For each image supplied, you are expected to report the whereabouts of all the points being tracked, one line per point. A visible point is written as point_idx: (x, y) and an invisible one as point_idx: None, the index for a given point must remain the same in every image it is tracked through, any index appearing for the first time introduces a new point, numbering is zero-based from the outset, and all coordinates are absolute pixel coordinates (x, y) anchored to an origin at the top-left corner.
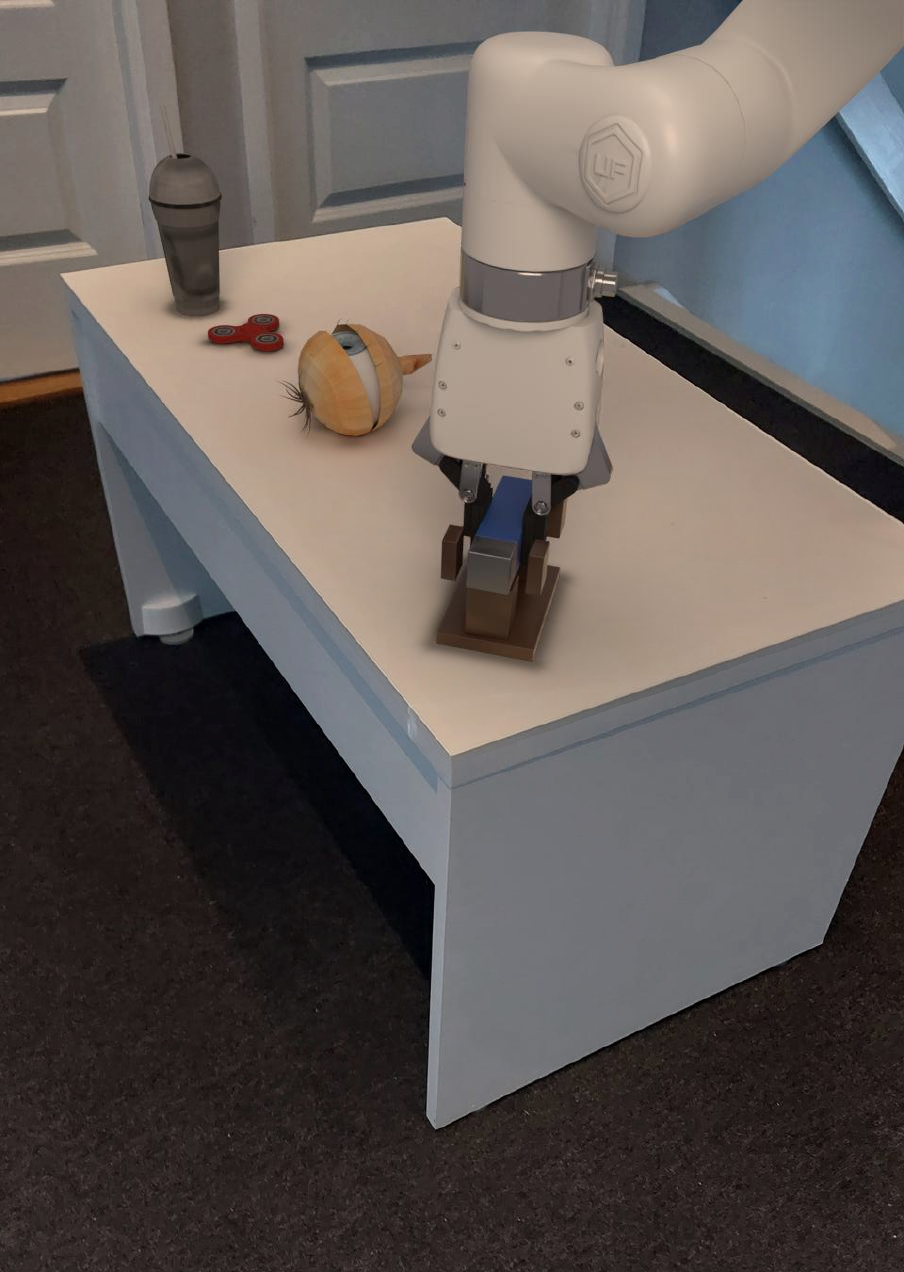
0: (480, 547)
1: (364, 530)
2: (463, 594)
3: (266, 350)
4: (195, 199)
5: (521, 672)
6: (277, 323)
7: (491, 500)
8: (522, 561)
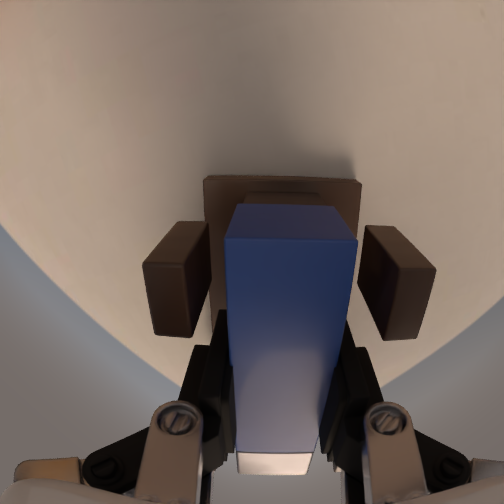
0: (253, 467)
1: (44, 152)
2: (223, 294)
3: None
4: None
5: None
6: None
7: (232, 376)
8: None
